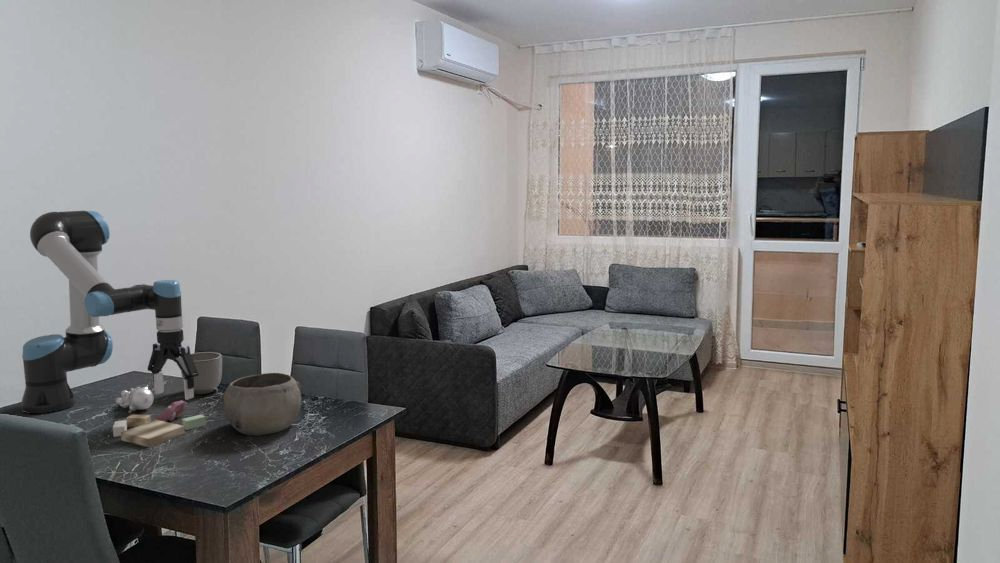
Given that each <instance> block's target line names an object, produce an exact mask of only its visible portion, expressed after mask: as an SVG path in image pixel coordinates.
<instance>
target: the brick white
mask: <svg viewBox="0 0 1000 563" xmlns="http://www.w3.org/2000/svg"><path fill="white" fill-rule="evenodd" d="M126 430H128V427H127V420H126V419H124V420H116V421H114V424H113V426H112V434H113V436H112V437H114V438H115V437H121V432H123V431H126Z"/></svg>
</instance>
